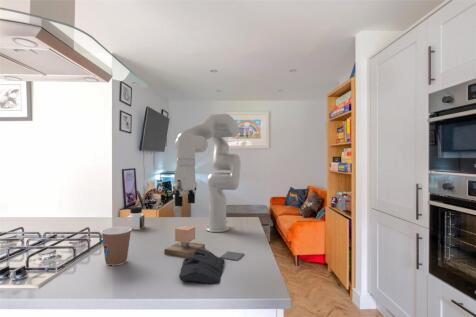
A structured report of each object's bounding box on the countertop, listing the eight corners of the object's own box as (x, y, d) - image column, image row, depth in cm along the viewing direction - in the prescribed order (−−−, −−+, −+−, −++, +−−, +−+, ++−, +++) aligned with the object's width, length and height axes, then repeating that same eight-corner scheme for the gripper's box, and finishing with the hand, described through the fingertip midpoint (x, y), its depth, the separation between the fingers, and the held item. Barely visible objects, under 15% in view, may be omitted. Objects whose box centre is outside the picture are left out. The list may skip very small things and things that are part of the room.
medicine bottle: (139, 229, 148) (140, 207, 148) (126, 229, 148) (127, 207, 148) (144, 226, 155) (144, 205, 155) (132, 226, 155) (132, 205, 155)
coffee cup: (101, 259, 102) (102, 227, 102) (130, 256, 106) (131, 225, 106) (99, 269, 93) (100, 234, 93) (131, 265, 97) (132, 231, 97)
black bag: (170, 285, 82) (170, 270, 82) (185, 259, 104) (185, 247, 104) (220, 286, 82) (221, 270, 82) (225, 260, 104) (225, 247, 104)
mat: (227, 252, 112) (227, 251, 112) (244, 254, 109) (244, 253, 109) (220, 258, 104) (220, 257, 104) (237, 260, 102) (237, 259, 102)
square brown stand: (180, 245, 120) (180, 225, 120) (204, 248, 116) (204, 227, 116) (164, 254, 109) (164, 231, 109) (190, 258, 104) (190, 234, 104)
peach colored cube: (183, 237, 116) (183, 225, 116) (195, 238, 114) (195, 226, 114) (175, 241, 110) (175, 228, 111) (187, 242, 108) (187, 230, 108)
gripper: (189, 163, 122) (188, 201, 121) (165, 163, 106) (165, 206, 105) (203, 163, 119) (203, 202, 119) (182, 163, 103) (181, 208, 103)
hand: (185, 204), depth 112 cm, fingers open, 9 cm apart
